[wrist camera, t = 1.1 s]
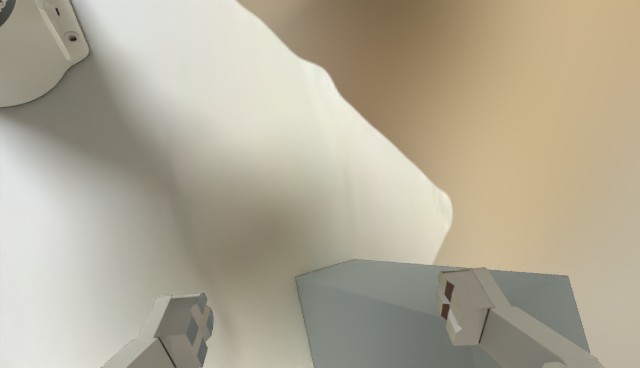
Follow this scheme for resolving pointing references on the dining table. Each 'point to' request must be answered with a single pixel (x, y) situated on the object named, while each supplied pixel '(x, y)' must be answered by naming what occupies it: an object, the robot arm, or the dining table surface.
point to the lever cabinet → (413, 314)
